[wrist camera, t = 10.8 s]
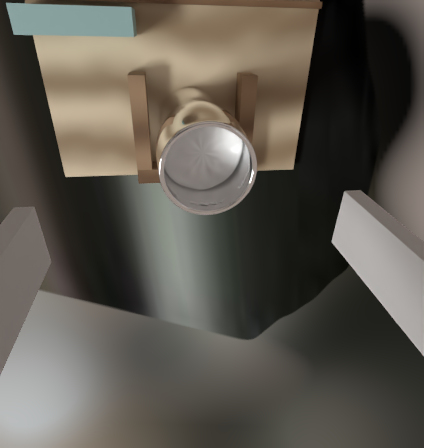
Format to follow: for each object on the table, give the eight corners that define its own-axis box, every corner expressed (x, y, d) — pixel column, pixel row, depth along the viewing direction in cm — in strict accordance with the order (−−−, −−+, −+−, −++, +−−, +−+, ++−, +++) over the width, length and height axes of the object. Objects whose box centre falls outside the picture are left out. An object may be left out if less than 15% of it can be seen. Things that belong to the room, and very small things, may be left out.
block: (24, 6, 27) (5, 2, 24) (134, 9, 28) (131, 6, 25) (31, 33, 28) (13, 34, 25) (136, 35, 29) (133, 37, 26)
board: (26, -14, 28) (9, -20, 24) (315, -3, 31) (333, -7, 28) (68, 172, 36) (59, 186, 33) (289, 165, 40) (300, 177, 37)
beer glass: (145, 131, 34) (137, 192, 21) (176, 68, 31) (187, 95, 19) (202, 161, 37) (225, 231, 24) (235, 105, 34) (281, 151, 21)
